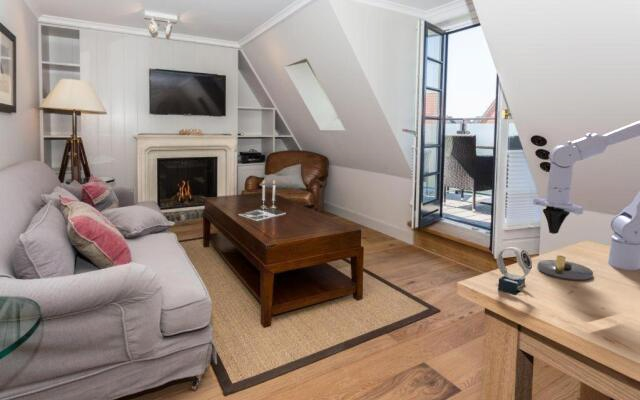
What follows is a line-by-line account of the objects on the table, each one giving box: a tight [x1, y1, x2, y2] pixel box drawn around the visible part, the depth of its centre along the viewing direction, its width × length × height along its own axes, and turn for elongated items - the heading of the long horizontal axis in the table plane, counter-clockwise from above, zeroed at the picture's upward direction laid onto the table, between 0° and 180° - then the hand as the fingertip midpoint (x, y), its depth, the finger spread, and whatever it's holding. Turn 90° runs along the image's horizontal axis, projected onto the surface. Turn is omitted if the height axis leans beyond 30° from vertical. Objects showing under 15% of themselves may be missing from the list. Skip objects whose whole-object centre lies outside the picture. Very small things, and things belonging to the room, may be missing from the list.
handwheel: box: [536, 255, 594, 282], centre depth 111 cm, size 13×13×6 cm
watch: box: [496, 246, 533, 296], centre depth 102 cm, size 6×8×11 cm
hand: (553, 232), depth 120 cm, fingers closed
